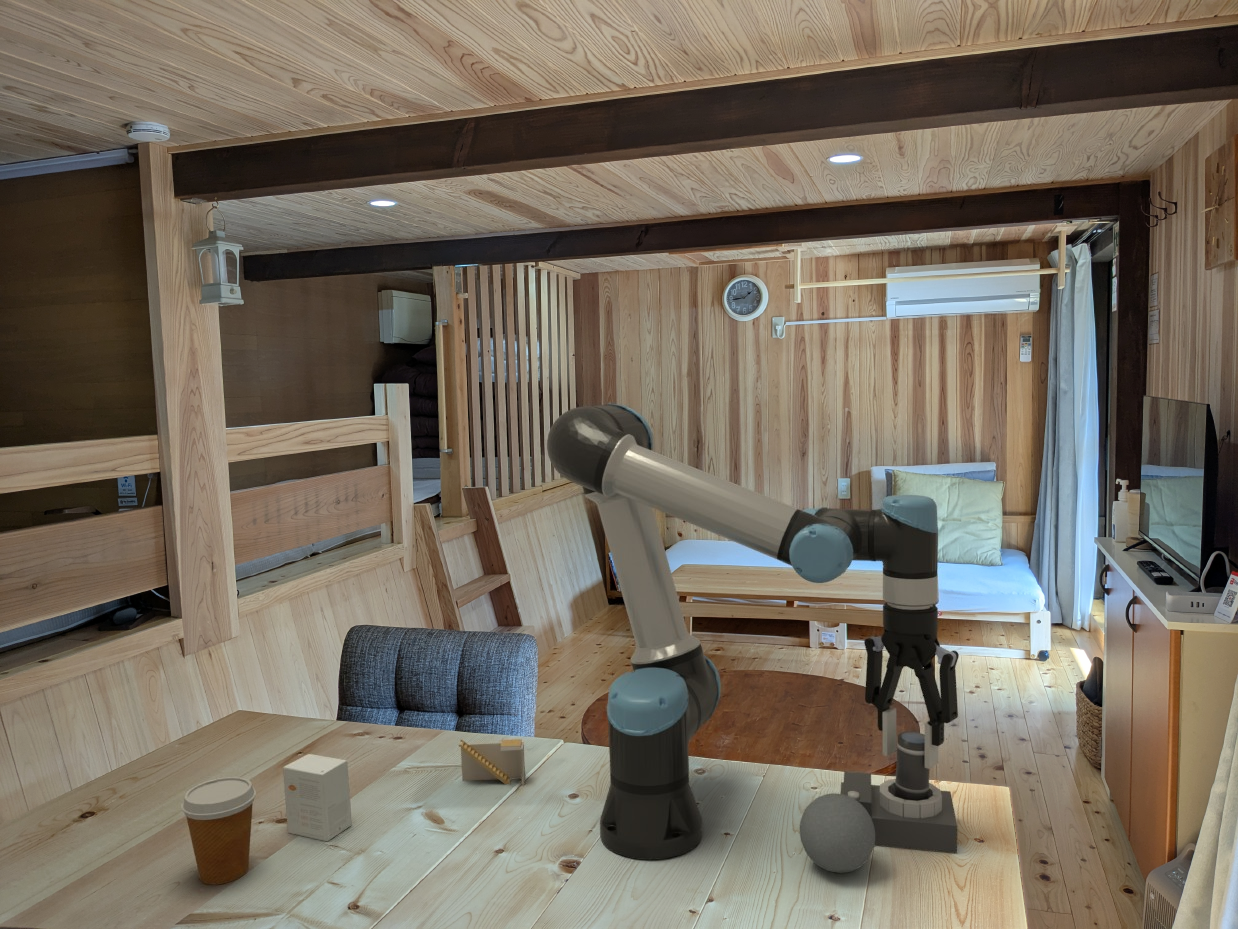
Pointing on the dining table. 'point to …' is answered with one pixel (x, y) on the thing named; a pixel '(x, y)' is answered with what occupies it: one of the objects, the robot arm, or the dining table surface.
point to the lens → (911, 767)
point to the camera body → (905, 815)
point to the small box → (317, 797)
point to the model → (493, 761)
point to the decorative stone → (837, 833)
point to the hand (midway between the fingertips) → (910, 758)
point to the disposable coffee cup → (220, 827)
